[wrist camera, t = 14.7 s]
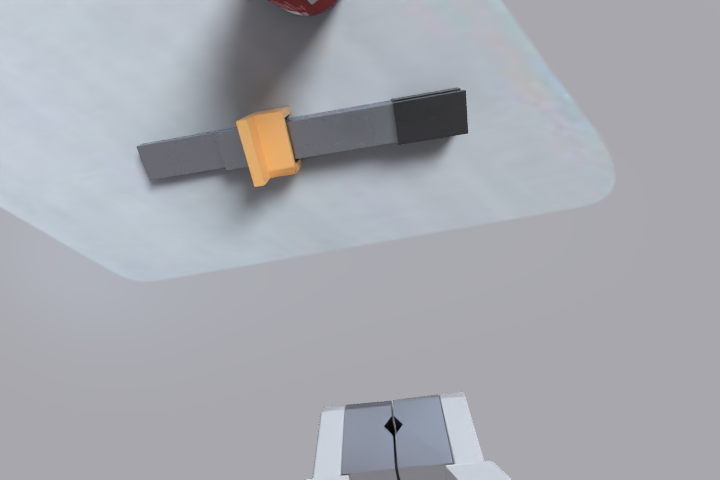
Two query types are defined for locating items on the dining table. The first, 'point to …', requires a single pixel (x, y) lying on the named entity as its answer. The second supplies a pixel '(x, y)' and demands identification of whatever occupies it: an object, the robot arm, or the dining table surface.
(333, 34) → the dining table surface
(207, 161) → the tongs
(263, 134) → the orange c-shaped bracket
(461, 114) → the tongs arm
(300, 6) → the soda can
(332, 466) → the robot arm
